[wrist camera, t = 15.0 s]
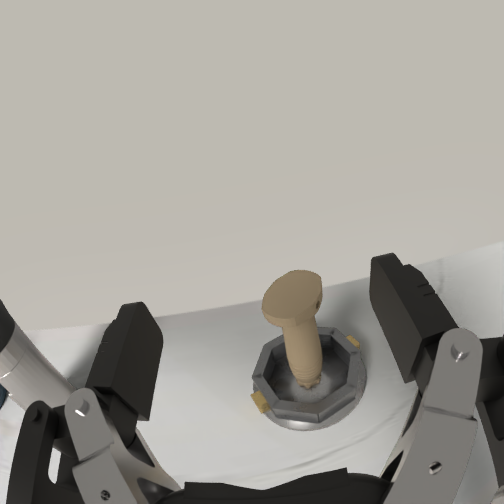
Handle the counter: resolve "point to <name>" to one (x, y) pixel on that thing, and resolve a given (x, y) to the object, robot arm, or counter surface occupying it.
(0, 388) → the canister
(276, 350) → the grey shallow octagonal dish
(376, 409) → the counter surface
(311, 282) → the handle
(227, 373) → the counter surface
